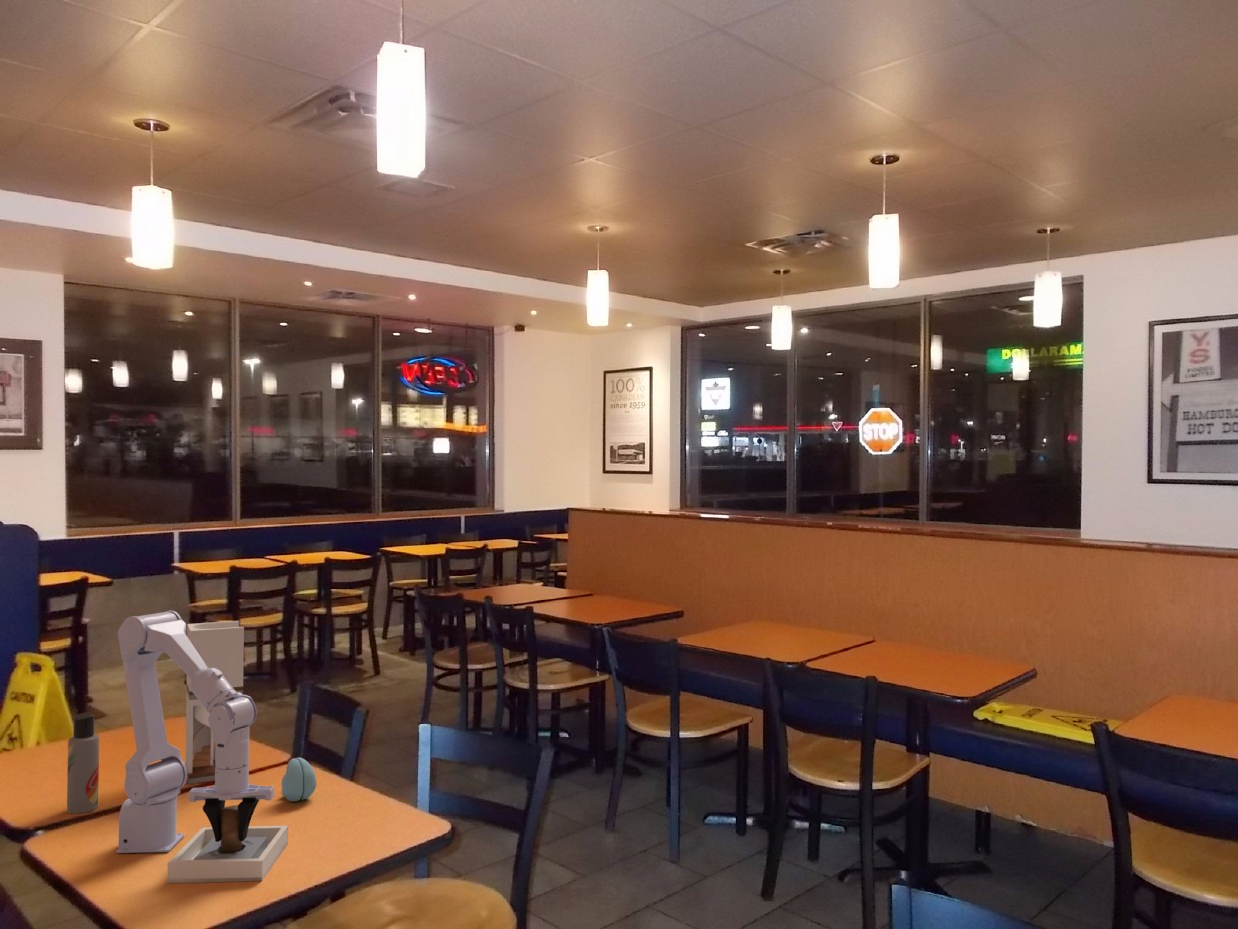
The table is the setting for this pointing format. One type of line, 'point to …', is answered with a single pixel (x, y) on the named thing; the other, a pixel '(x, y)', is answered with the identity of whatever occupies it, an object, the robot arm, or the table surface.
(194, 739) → the tall white shelf
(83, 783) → the lotion bottle
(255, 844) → the box
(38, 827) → the table surface
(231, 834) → the peg
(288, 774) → the toy flower bud
